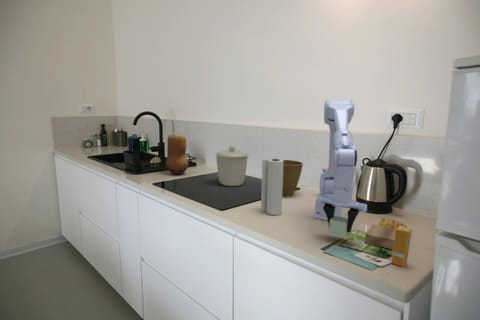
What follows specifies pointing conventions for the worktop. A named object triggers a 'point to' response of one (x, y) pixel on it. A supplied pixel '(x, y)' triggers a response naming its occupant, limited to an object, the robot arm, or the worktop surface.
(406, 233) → the supplement box
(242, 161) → the canister
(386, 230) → the walnut base block
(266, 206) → the paper towel roll
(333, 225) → the sage green block
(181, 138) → the butternut squash
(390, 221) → the pastry
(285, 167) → the plant pot
